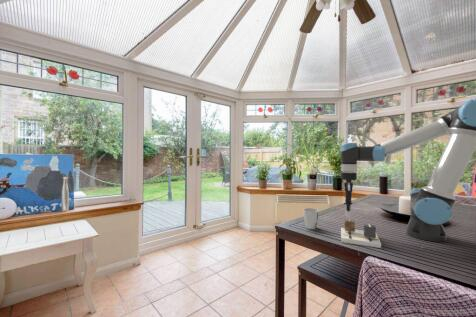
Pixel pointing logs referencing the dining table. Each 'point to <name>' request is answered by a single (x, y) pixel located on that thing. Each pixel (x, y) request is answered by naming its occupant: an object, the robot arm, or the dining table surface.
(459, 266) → the dining table surface
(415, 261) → the dining table surface
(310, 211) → the cup
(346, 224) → the fader
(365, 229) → the fader
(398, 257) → the dining table surface
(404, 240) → the dining table surface
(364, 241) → the white flat slab
